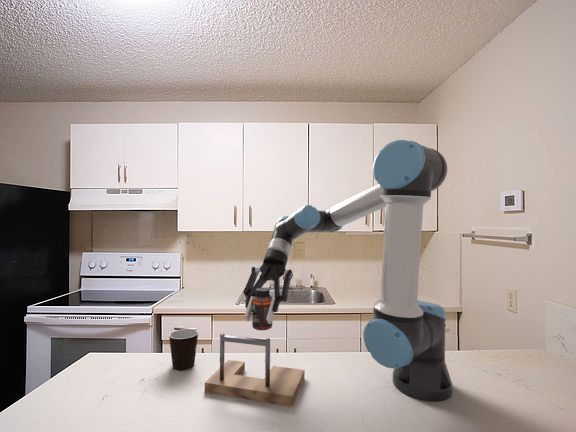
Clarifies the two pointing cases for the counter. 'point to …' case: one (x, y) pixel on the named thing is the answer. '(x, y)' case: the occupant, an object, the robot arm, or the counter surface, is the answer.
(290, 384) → the notched wooden board
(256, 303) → the supplement bottle
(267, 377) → the grey metal arch frame
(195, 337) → the coffee mug
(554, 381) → the counter surface
